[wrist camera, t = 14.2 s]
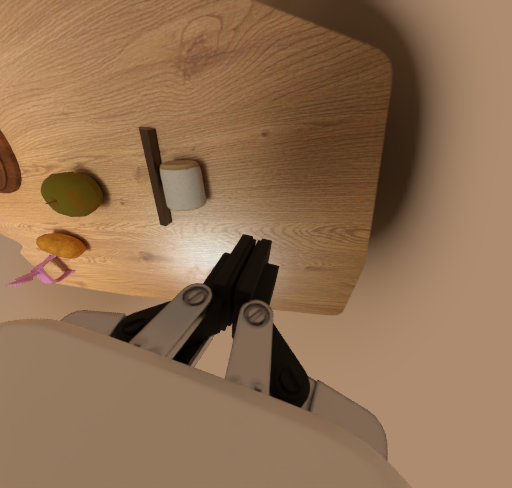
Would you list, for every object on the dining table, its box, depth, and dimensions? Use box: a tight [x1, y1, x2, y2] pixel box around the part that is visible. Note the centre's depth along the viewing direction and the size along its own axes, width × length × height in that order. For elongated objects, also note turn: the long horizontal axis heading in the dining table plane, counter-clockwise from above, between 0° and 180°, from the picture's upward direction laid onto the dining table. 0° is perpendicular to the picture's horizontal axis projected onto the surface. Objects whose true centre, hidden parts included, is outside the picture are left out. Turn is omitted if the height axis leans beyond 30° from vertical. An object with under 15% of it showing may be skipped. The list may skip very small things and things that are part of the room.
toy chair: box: [6, 255, 74, 286], centre depth 69 cm, size 8×9×15 cm
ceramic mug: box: [160, 160, 206, 211], centre depth 37 cm, size 11×8×8 cm
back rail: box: [139, 127, 172, 226], centre depth 42 cm, size 3×20×2 cm, turn 175°
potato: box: [36, 233, 85, 259], centre depth 61 cm, size 7×14×7 cm, turn 82°
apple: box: [41, 172, 103, 217], centre depth 45 cm, size 10×10×11 cm
